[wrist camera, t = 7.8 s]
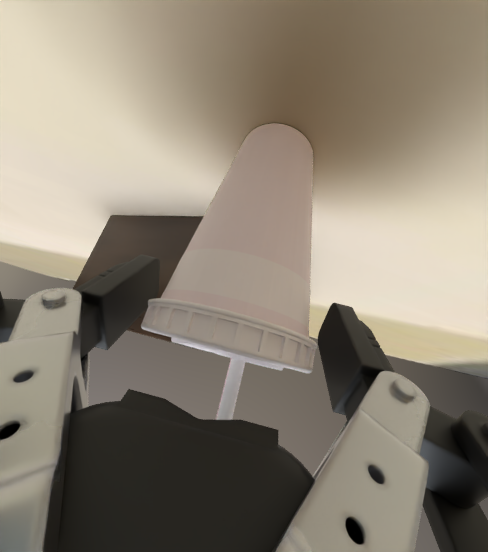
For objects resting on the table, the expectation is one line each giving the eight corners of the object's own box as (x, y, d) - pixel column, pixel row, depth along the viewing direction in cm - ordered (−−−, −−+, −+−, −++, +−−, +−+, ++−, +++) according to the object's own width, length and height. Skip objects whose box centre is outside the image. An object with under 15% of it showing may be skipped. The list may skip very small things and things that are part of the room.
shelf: (237, 217, 18) (197, 349, 14) (276, 288, 31) (260, 363, 28) (110, 215, 23) (60, 312, 20) (191, 277, 37) (170, 339, 33)
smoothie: (300, 213, 15) (252, 460, 11) (208, 176, 14) (110, 434, 10) (378, 131, 9) (344, 611, 5) (229, 56, 8) (-5, 590, 4)
